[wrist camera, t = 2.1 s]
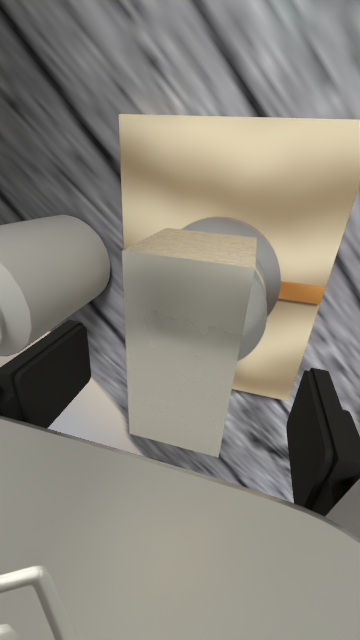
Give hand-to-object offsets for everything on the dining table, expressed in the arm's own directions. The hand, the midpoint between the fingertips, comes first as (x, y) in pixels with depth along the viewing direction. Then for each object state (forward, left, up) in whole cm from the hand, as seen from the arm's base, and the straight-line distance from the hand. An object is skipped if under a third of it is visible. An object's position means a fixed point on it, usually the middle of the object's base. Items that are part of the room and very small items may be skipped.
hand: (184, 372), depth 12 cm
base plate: (0, 0, -12) cm, 12 cm away
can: (0, -13, -13) cm, 18 cm away
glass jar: (0, 0, -10) cm, 10 cm away
